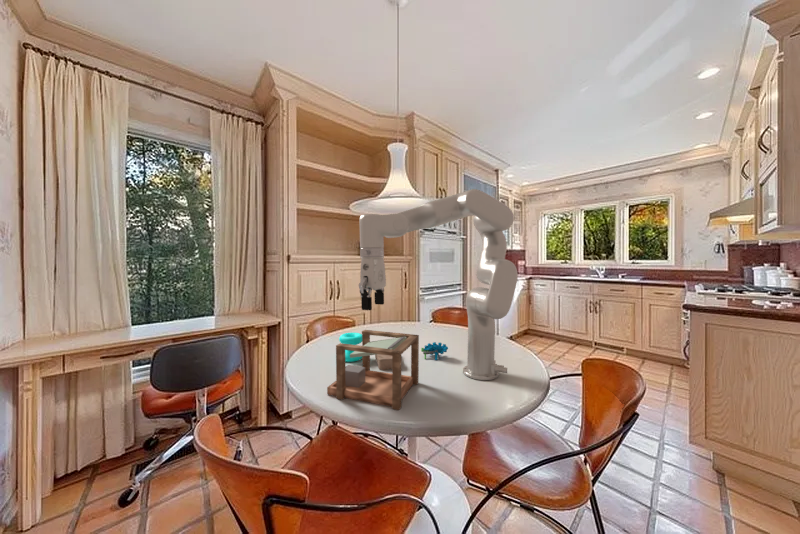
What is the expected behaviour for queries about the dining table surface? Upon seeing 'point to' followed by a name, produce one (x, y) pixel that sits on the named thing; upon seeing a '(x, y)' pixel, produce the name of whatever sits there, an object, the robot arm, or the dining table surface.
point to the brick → (384, 361)
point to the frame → (378, 384)
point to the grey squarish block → (354, 375)
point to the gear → (434, 349)
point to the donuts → (353, 340)
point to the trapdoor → (380, 346)
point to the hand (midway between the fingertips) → (373, 306)
